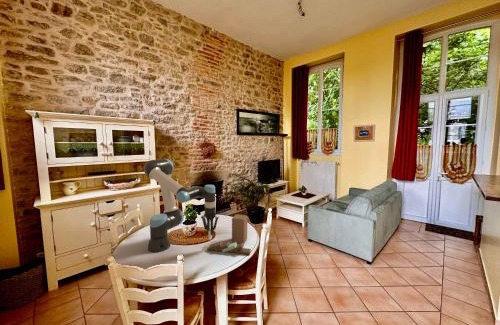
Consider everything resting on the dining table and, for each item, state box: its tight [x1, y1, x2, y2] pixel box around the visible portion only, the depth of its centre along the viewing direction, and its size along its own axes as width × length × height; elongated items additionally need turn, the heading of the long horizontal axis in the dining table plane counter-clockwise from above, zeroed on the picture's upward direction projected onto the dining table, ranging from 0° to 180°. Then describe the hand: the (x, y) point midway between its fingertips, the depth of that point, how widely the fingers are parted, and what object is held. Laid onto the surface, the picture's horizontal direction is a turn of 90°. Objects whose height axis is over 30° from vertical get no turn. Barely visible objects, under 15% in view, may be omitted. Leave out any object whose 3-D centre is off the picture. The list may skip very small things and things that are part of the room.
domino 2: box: [214, 241, 231, 252], centre depth 151 cm, size 2×5×10 cm
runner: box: [200, 245, 240, 256], centre depth 151 cm, size 28×8×1 cm, turn 81°
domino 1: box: [207, 240, 223, 251], centre depth 151 cm, size 2×5×10 cm
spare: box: [222, 242, 237, 252], centre depth 150 cm, size 2×5×10 cm
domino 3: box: [229, 243, 245, 253], centre depth 149 cm, size 2×5×10 cm
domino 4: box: [235, 247, 252, 256], centre depth 148 cm, size 2×5×10 cm
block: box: [231, 213, 248, 245], centre depth 165 cm, size 10×10×20 cm
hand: (210, 238), depth 151 cm, fingers closed
